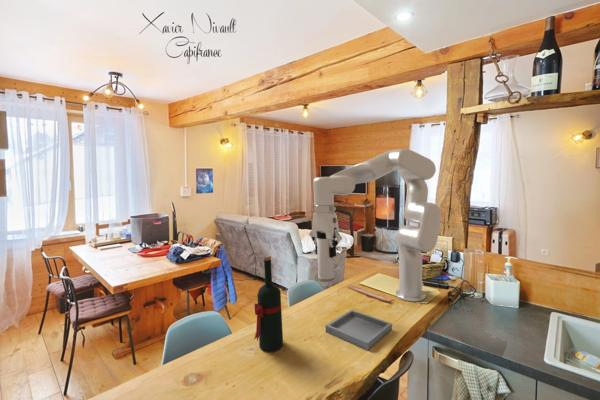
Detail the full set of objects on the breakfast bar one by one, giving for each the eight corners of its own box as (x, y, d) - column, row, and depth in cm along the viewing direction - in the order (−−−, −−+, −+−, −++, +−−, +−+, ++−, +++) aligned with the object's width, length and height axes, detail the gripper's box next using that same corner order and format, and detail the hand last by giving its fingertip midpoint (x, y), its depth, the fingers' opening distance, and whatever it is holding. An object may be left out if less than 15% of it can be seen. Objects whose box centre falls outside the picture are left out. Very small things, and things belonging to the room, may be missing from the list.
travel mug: (336, 277, 119) (335, 227, 117) (331, 283, 113) (329, 230, 111) (321, 275, 121) (320, 226, 119) (315, 281, 115) (313, 229, 114)
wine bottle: (248, 348, 97) (244, 258, 95) (272, 336, 105) (268, 251, 102) (264, 358, 92) (259, 263, 89) (288, 344, 99) (284, 255, 96)
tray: (351, 315, 117) (351, 309, 117) (392, 330, 106) (391, 323, 105) (325, 332, 106) (325, 325, 106) (367, 350, 94) (367, 343, 94)
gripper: (348, 209, 111) (349, 256, 113) (313, 207, 123) (315, 249, 125) (336, 212, 106) (337, 261, 107) (301, 209, 118) (302, 254, 119)
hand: (325, 254), depth 116 cm, fingers closed on travel mug, 6 cm apart
